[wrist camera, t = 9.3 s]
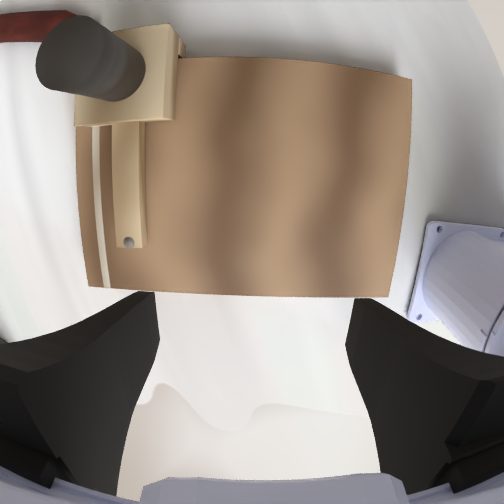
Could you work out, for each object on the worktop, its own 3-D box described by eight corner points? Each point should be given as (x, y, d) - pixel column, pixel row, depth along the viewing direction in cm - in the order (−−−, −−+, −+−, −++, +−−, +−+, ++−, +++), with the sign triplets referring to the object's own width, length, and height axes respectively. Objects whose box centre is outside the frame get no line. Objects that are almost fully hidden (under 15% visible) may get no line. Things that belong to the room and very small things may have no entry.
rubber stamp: (185, 46, 16) (136, -20, 7) (182, 235, 20) (133, 304, 11) (111, 54, 16) (27, 13, 7) (111, 233, 20) (32, 293, 11)
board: (398, 83, 17) (412, 79, 15) (377, 284, 22) (388, 297, 20) (93, 77, 17) (78, 72, 15) (100, 274, 21) (88, 286, 19)
